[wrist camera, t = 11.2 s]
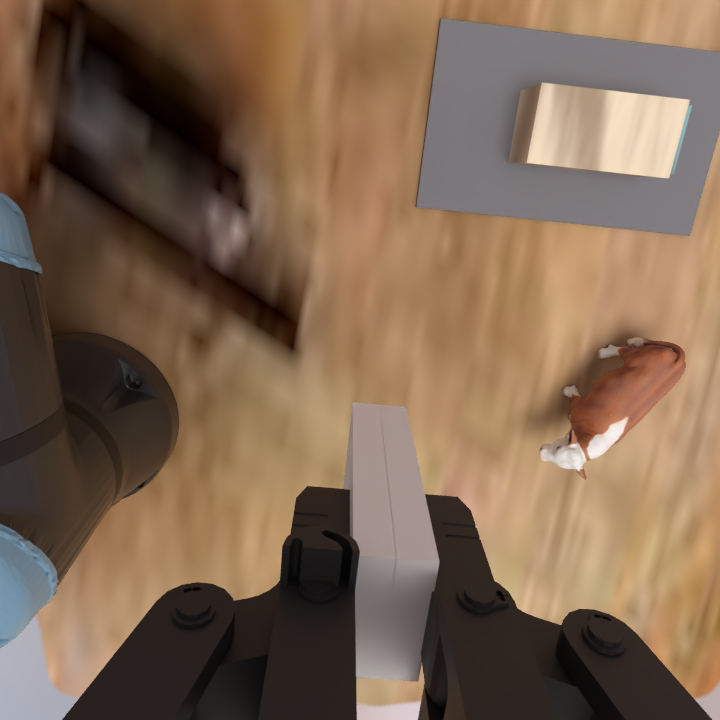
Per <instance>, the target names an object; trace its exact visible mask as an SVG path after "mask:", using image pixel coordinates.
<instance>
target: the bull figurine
mask: <svg viewBox="0 0 720 720" xmlns="http://www.w3.org/2000/svg"><path fill="white" fill-rule="evenodd" d="M627 343H628V345H627V346H624V347H616V346H613V345H609V346H608V348H600V349H599V350H598V352H597V356H598V358H599V359H605V358H609V357H612V356H616V355H617V356H621V357H622V358H623V359H624V361H625V363H624V365H623V367H621V368H619V369H616V370H613V371H610V372H608V373H606V374H605V375H603V376H602V377H601V378H599V379H598V380H597V382H596V383H595V384H594V386H593V388H592V390H591V392H590V394H589V395H588V396H587V397H586V398H585V399H583V398H582V397H581V396H580V395H579V394H578V390H577V389H576V386H575V385H572V387H568V386H566V387H564V388H563V389H562V394H563V395H564V396H568V397H572V398H571V400H570V402H571V404H572V405H571V413H570V414H569V416H568V417H569V420H570V422H571V428H570V430H569V432H568V433H567V434H566V436H565V438H562V439H558V440H556V441H555V442H554V443H552V444H544V445H542V446H541V447H540V457H541V459H542V460H543V461H551V462H553V463H555V464H556V465H558V466H560V467H561V468H565V469H576V471H577V473H578V474H579V475H580V476H581V477H582V478H584V479H585V480H586V475H585V472H584V469H583V467H582V465H583V464H584V462H586V461H588V460H592V459H594V458H596V457H599V456H601V455H602V454H603V453H605V452H606V450H607V449H609V448H610V447H611V446H613V445H614V444H616V443H618V442H619V441H620V440H621V439H622V438H623V437H624V436H625V434H626V433H627V432H628V431H629V430H630V429H632V428H633V427H634V426H635V425H636V424H637V423H638V422H639V421H640V420H641V419H642V418H643V417H644V416H645V415H646V414H647V413H648V412H649V411H650V410H651V409H652V408H653V406H654V405H655V404H656V403H657V402H658V401H659V400H660V399H661V398H662V397H663V396H665V395H666V394H667V393H668V392H669V391H670V389H671V388H672V387H673V386H674V385H675V384H676V383H677V381H678V380H679V379H680V378H681V376H682V374H683V373H684V371H685V368H686V364H685V361H684V360H685V353H684V351H683V350H682V349H681V348H680V347H679V346H678V345H676V344H673V343H669V342H663V341H652V340H648V339H645V338H640V337H637V338H635V337H634V338H632V339H629V340H628V341H627ZM637 348H638V349H637ZM670 348H671V349H672V350H673V351H672V350H671V349H670Z"/></svg>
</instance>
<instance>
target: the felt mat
mask: <svg viewBox="0 0 720 720" xmlns="http://www.w3.org/2000/svg"><path fill="white" fill-rule="evenodd" d="M539 83H550V84H559V85H567V86H576V87H585V88H593V89H602V90H610V91H619V92H627V93H636V94H645V95H653V96H662V97H670V98H679V99H688V100H690V102H689V105H690V106H692V108H691V111H690V115H689V119H688V123H687V126H686V130H685V134H684V138H683V141H682V145H681V149H680V153H679V156H678V160H677V164H676V168H675V171H674V174H670V177H669V178H655V177H641V176H630V175H621V174H611V173H602V172H593V171H584V170H575V169H566V168H557V167H548V166H539V165H529V164H520V163H511V162H508V160H509V155H510V149H511V143H512V138H513V132H514V126H515V121H516V115H517V109H518V104H519V98H520V92H521V90H524V89H526V88H529V87H531V86H534V85H537V84H539ZM719 131H720V52H715V51H707V50H699V49H690V48H682V47H674V46H665V45H657V44H649V43H641V42H632V41H624V40H616V39H607V38H599V37H591V36H583V35H574V34H566V33H558V32H549V31H541V30H533V29H525V28H516V27H508V26H500V25H491V24H483V23H475V22H467V21H458V20H450V19H442V18H441V20H440V26H439V34H438V42H437V49H436V57H435V65H434V72H433V80H432V88H431V95H430V103H429V111H428V118H427V126H426V134H425V141H424V149H423V157H422V164H421V172H420V180H419V187H418V195H417V203H416V207H421V208H430V209H440V210H449V211H459V212H468V213H478V214H487V215H497V216H506V217H516V218H525V219H535V220H544V221H554V222H563V223H573V224H582V225H592V226H601V227H611V228H620V229H630V230H639V231H649V232H658V233H668V234H677V235H687V236H690V233H691V229H692V226H693V222H694V219H695V215H696V212H697V208H698V205H699V201H700V198H701V194H702V191H703V187H704V184H705V180H706V177H707V173H708V170H709V166H710V163H711V159H712V156H713V152H714V149H715V145H716V142H717V138H718V135H719Z"/></svg>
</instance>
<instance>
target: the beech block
mask: <svg viewBox="0 0 720 720" xmlns="http://www.w3.org/2000/svg"><path fill="white" fill-rule="evenodd" d="M689 102H690V100H688V99H679V98H670V97H662V96H653V95H645V94H636V93H627V92H619V91H610V90H602V89H593V88H585V87H576V86H567V85H559V84H550V83H539V84H537V85H534V86H531V87H529V88H526V89H524V90H521V92H520V98H519V104H518V109H517V115H516V121H515V126H514V132H513V138H512V143H511V149H510V155H509V160H508V162H511V163H520V164H529V165H539V166H548V167H557V168H566V169H575V170H584V171H593V172H602V173H611V174H621V175H630V176H641V177H655V178H669V177H670V174H674V171H675V168H676V164H677V160H678V156H679V153H680V149H681V145H682V141H683V138H684V134H685V130H686V126H687V123H688V119H689V115H690V111H691V108H692V106H690V105H689Z"/></svg>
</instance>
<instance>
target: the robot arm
mask: <svg viewBox="0 0 720 720" xmlns="http://www.w3.org/2000/svg"><path fill="white" fill-rule="evenodd" d="M40 274H43V272H42V267H41V265H40V264H38V263H37V262H36V259H35V255H34V251H33V247H32V243H31V239H30V235H29V231H28V227H27V223H26V219H25V216H24V214H23V212H22V210H21V209H20V207H19V206H18V205H17V204H16V203H15V202H14V201H13V200H12V199H11V198H10V197H8V196H7V195H5V194H3V193H1V192H0V648H1V647H3V646H5V645H6V644H8V643H9V642H10V641H11V640H13V639H14V638H16V637H17V636H18V635H19V634H20V633H21V632H22V631H23V630H24V628H25V627H26V626H27V625H28V624H29V622H30V621H31V620H32V619H33V617H34V616H35V615H36V613H37V612H38V611H39V610H40V609H41V608H42V607H43V606H44V605H46V604H47V603H49V602H50V601H51V599H52V598H53V596H54V595H55V593H56V591H57V590H56V589H57V587H58V585H59V583H60V582H61V580H62V579H63V577H64V576H65V574H66V573H67V571H68V570H69V568H70V567H71V565H72V564H73V562H74V561H75V559H76V558H77V556H78V555H79V553H80V552H81V550H82V549H83V547H84V546H85V544H86V543H87V541H88V540H89V538H90V537H91V535H92V534H93V532H94V531H95V529H96V528H97V526H98V525H99V523H100V522H101V520H102V519H103V517H104V516H105V515H106V513H107V512H108V510H109V509H110V507H111V506H113V505H115V504H116V503H118V502H119V501H120V500H121V499H123V498H126V497H128V496H130V495H132V494H134V493H136V492H137V491H139V490H141V489H142V488H144V487H145V486H146V485H147V484H148V483H150V482H151V481H152V480H153V479H154V478H155V477H156V475H157V474H158V473H159V472H160V470H161V469H162V467H163V466H164V464H165V463H166V461H167V459H168V458H169V456H170V454H171V452H172V450H173V448H174V446H175V443H176V439H177V435H178V424H179V421H178V411H177V406H176V402H175V399H174V396H173V394H172V391H171V389H170V387H169V385H168V384H167V382H166V380H165V379H164V377H163V376H162V375H161V373H160V372H159V371H158V370H157V368H156V367H155V366H154V365H153V364H152V363H151V362H150V361H149V360H148V359H146V358H145V357H144V356H143V355H141V354H140V353H139V352H137V351H136V350H134V349H133V348H131V347H129V346H127V345H125V344H123V343H121V342H119V341H117V340H114V339H111V338H108V337H105V336H101V335H96V334H89V333H68V334H61V335H57V336H53V337H52V335H51V330H50V325H49V320H48V315H47V310H46V304H45V299H44V294H43V289H42V284H41V279H40ZM421 663H422V665H423V673H424V680H425V684H424V689H423V695H422V700H421V706H420V711H419V717H418V720H712V719H711V718H710V717H709V715H707V713H706V712H705V711H704V710H703V709H702V708H701V706H700V705H699V704H698V703H697V702H696V701H695V700H694V698H693V697H692V696H691V695H690V694H689V693H688V692H687V690H686V689H685V688H684V687H683V686H682V685H681V684H680V683H679V681H678V680H677V679H676V678H675V677H674V676H673V675H672V673H671V672H670V671H669V670H668V669H667V668H666V667H665V665H664V664H663V663H662V662H661V661H660V660H659V659H658V658H657V656H656V655H655V654H654V653H653V652H652V651H651V650H650V648H649V647H648V646H647V645H646V644H645V643H644V642H643V640H642V639H641V638H640V637H639V636H638V635H637V634H636V633H635V632H634V631H633V630H632V629H631V628H630V627H628V626H627V625H626V624H625V623H624V622H622V621H620V620H618V619H617V618H615V617H613V616H611V615H610V614H606V613H603V612H600V611H597V610H590V609H579V610H576V611H573V612H570V613H569V614H568V615H567V616H566V617H565V619H564V620H563V623H562V625H558V624H555V623H552V622H549V621H546V620H543V619H539V618H536V617H534V616H531V615H529V614H526V613H524V612H522V611H521V610H519V609H517V607H516V604H515V601H514V600H513V598H512V597H511V595H510V593H509V592H508V591H507V590H506V589H505V588H503V587H502V586H501V585H500V584H499V583H497V582H495V581H494V579H493V576H492V573H491V570H490V567H489V564H488V561H487V558H486V555H485V552H484V549H483V546H482V543H481V540H479V534H478V531H477V528H475V522H474V519H473V516H472V513H471V510H470V509H469V508H468V507H467V506H466V505H465V504H464V503H463V502H462V501H461V500H460V499H459V498H458V497H452V496H440V495H428V494H425V492H424V488H423V483H422V478H421V474H420V469H419V464H418V460H417V455H416V451H415V446H414V441H413V437H412V432H411V427H410V423H409V418H408V414H407V409H406V407H400V406H389V405H378V404H367V403H355V402H353V404H352V413H351V423H350V432H349V441H348V451H347V460H346V469H345V479H344V489H336V488H323V487H311V486H307V487H306V488H305V489H304V490H303V491H302V492H301V493H300V495H299V496H298V497H297V498H296V503H295V510H294V516H293V522H292V528H291V534H290V535H289V536H288V537H287V538H286V540H285V542H284V544H283V548H282V562H281V576H280V581H279V582H278V584H277V585H276V586H274V587H273V588H272V589H271V590H269V591H267V592H265V593H263V594H261V595H259V596H255V597H251V598H248V599H242V600H236V601H233V598H232V597H231V596H230V594H229V593H228V592H227V591H226V590H225V589H223V588H220V587H218V586H216V585H214V584H208V583H198V582H197V583H191V584H185V585H181V586H179V587H176V588H174V589H172V590H170V591H168V592H166V593H165V594H164V595H163V596H162V597H161V598H160V599H158V600H157V601H156V603H155V604H154V605H153V606H152V608H151V609H150V610H149V611H148V613H147V614H146V615H145V616H144V618H143V619H142V620H141V621H140V623H139V624H138V625H137V627H136V628H135V629H134V630H133V632H132V633H131V634H130V635H129V637H128V638H127V639H126V640H125V642H124V643H123V644H122V645H121V647H120V648H119V649H118V650H117V652H116V653H115V654H114V655H113V657H112V658H111V659H110V660H109V662H108V663H107V664H106V665H105V667H104V668H103V669H102V670H101V672H100V673H99V674H98V675H97V677H96V678H95V679H94V681H93V682H92V683H91V684H90V686H89V687H88V688H87V689H86V691H85V692H84V693H83V694H82V696H81V697H80V698H79V699H78V701H77V702H76V703H75V704H74V706H73V707H72V708H71V710H70V711H69V712H68V713H67V714H66V716H65V717H64V718H63V720H357V719H356V718H357V716H356V715H357V712H356V677H359V678H374V679H388V680H403V681H418V680H419V674H420V669H421Z"/></svg>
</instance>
